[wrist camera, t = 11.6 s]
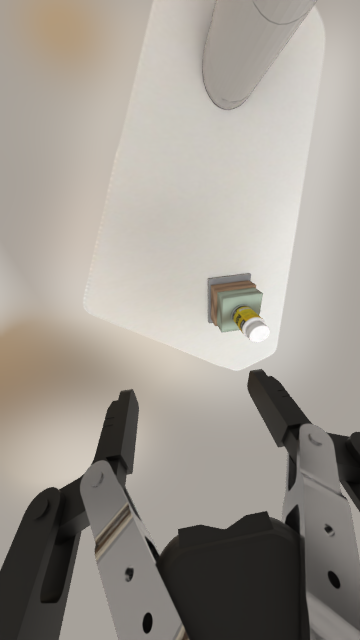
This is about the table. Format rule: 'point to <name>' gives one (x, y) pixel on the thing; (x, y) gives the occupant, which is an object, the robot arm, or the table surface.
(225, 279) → the baseplate
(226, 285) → the brick tower
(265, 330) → the supplement bottle
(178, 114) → the table surface
